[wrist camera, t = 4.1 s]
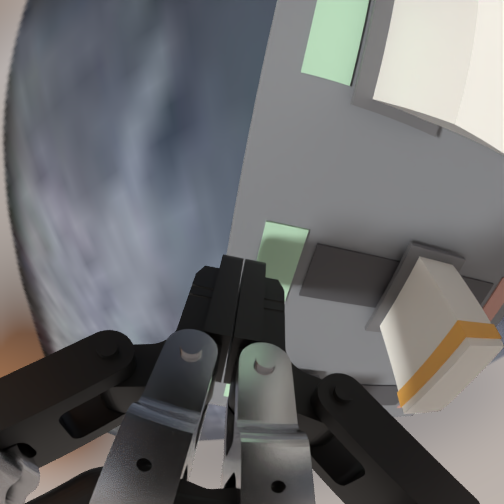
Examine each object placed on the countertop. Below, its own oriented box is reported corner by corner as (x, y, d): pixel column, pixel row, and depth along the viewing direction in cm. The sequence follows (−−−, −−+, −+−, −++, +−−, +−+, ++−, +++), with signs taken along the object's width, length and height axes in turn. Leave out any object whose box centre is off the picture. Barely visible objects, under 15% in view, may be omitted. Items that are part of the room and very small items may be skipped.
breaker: (458, 20, 6) (559, 13, 2) (432, 135, 8) (527, 190, 4) (377, -21, 6) (453, -75, 1) (349, 104, 8) (421, 133, 4)
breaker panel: (555, 109, 8) (589, 123, 6) (405, 387, 22) (412, 416, 19) (289, -36, 8) (293, -66, 5) (210, 369, 21) (203, 403, 19)
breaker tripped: (463, 256, 11) (519, 337, 7) (415, 332, 13) (444, 414, 9) (410, 242, 11) (465, 335, 6) (364, 326, 13) (385, 419, 9)
